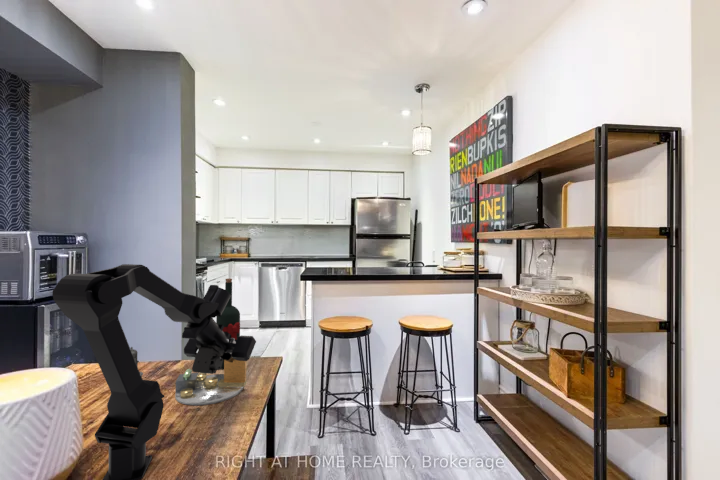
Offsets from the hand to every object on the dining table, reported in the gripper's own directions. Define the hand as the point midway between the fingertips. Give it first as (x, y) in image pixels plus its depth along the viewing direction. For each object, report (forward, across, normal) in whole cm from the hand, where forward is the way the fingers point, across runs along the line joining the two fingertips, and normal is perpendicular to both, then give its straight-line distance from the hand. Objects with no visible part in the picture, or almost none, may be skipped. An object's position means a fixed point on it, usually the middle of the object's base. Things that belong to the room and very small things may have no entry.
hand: (232, 360), depth 95 cm
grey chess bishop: (+3, -30, -9) cm, 32 cm away
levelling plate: (+6, -7, -6) cm, 11 cm away
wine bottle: (+18, -12, +6) cm, 23 cm away
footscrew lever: (+6, -3, -5) cm, 8 cm away
